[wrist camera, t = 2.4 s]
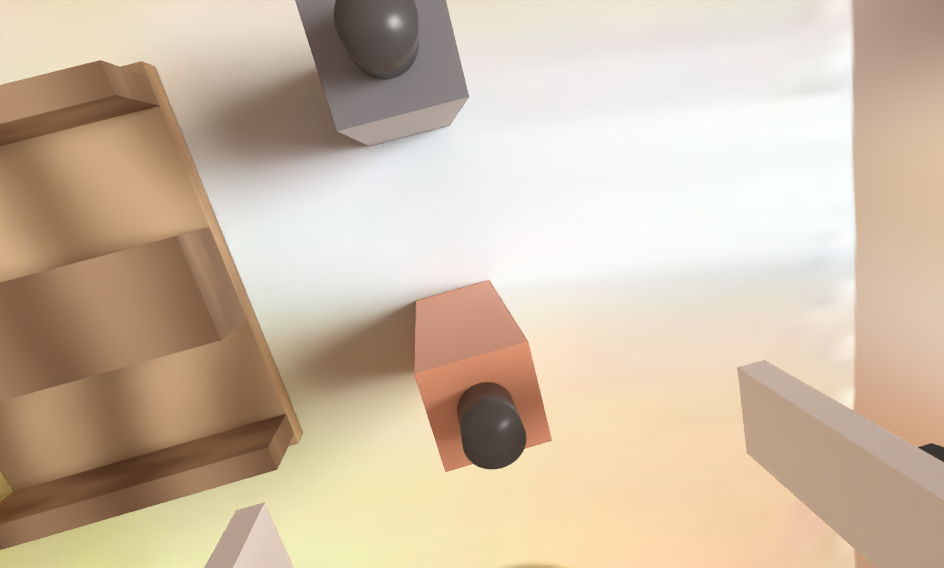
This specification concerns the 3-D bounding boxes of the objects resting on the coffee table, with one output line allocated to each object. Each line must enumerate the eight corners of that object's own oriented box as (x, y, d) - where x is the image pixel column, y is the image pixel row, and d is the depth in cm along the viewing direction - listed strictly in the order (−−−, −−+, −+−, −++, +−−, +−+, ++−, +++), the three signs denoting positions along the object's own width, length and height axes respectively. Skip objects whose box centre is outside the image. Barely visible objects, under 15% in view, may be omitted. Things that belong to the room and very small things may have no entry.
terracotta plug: (436, 367, 25) (449, 511, 15) (416, 300, 24) (413, 402, 14) (506, 348, 25) (569, 475, 15) (489, 280, 24) (543, 365, 14)
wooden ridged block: (47, 506, 25) (-23, 568, 21) (-170, 147, 20) (-313, 142, 16) (302, 432, 25) (281, 480, 21) (154, 66, 20) (93, 42, 16)
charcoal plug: (369, 146, 22) (323, 125, 12) (342, 58, 21) (264, -56, 10) (450, 125, 22) (477, 85, 12) (427, 36, 21) (434, -97, 11)
